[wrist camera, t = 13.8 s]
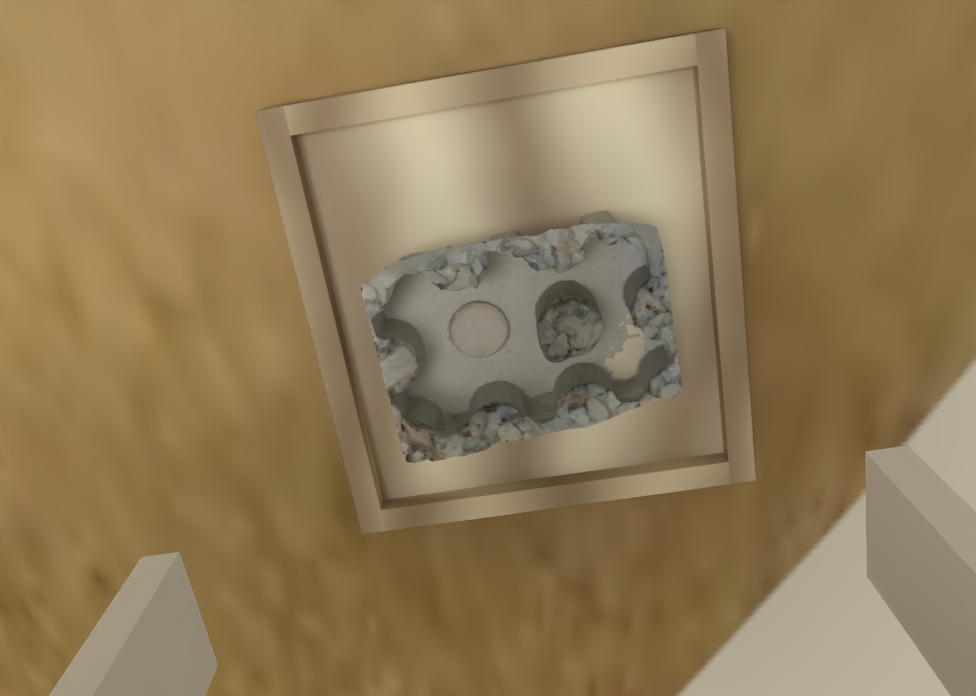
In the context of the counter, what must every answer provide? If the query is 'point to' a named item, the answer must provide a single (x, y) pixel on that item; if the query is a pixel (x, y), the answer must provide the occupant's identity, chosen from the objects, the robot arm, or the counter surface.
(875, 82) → the counter surface
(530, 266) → the egg carton
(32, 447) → the counter surface
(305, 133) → the tray
